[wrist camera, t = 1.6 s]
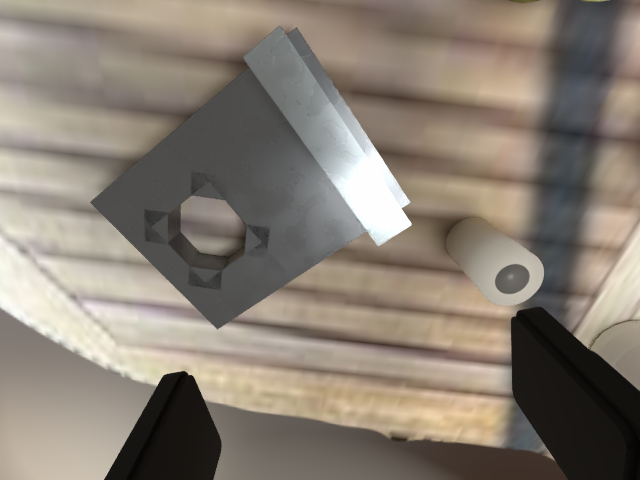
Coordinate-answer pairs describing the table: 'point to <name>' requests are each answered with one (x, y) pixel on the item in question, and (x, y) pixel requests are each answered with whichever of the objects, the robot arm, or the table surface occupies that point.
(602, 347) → the bottle
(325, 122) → the jig
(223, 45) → the table surface
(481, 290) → the bushing
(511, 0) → the plant pot
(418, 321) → the table surface
